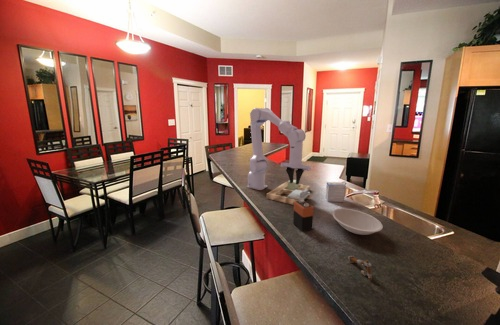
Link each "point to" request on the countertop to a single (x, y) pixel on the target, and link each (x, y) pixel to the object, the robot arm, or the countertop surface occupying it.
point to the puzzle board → (283, 190)
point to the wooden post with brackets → (361, 262)
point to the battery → (303, 215)
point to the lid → (299, 194)
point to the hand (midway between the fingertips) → (294, 183)
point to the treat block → (292, 185)
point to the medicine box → (335, 192)
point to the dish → (357, 221)
